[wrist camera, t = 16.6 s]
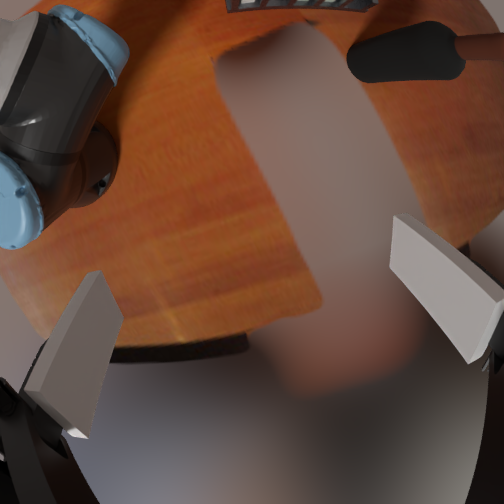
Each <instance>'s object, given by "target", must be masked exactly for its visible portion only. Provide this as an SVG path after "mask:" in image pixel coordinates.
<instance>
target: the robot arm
mask: <svg viewBox="0 0 504 504" xmlns="http://www.w3.org/2000/svg"><path fill="white" fill-rule="evenodd" d="M128 59H129V48H128V45H127V43H126V42H125V41H124V40H123V39H122V38H121V37H120V36H119V35H118V34H117V33H116V32H114V31H113V30H112V29H110V28H109V27H108V26H106V25H105V24H103V23H102V22H100V21H98V20H97V19H95V18H93V17H91V16H89V15H86V14H83V13H82V12H80V11H78V10H77V9H75V8H72V7H70V6H66V5H56V6H54V7H53V8H52V9H51V10H49V11H48V14H47V15H46V14H43V13H40V12H37V11H33V12H31V13H29V14H27V15H25V16H23V17H21V18H20V19H18V20H14V21H9V20H5V19H0V247H2V248H5V249H17V248H21V247H23V246H25V245H26V244H28V243H29V242H31V241H32V240H34V239H36V238H37V237H38V236H40V234H41V233H42V231H43V230H45V229H46V228H47V227H48V226H49V225H50V224H51V223H52V222H54V221H55V220H56V219H57V218H58V217H60V216H61V215H62V214H63V213H64V212H66V211H67V210H68V209H69V208H79V207H84V206H87V205H89V204H91V203H93V202H95V201H96V200H97V199H99V198H100V197H101V196H102V195H103V194H104V193H105V192H106V191H107V190H108V189H109V187H110V186H111V184H112V182H113V180H114V177H115V174H116V170H117V150H116V146H115V143H114V141H113V138H112V136H111V135H110V133H109V132H108V130H107V129H106V128H105V127H104V126H103V125H102V124H100V123H99V122H97V121H95V120H96V118H97V116H98V114H99V112H100V110H101V108H102V106H103V104H104V103H105V101H106V99H107V97H108V95H109V93H110V91H111V90H112V88H113V87H115V86H116V85H117V81H118V80H117V79H118V77H119V75H120V74H121V72H122V70H123V68H124V66H125V65H126V63H127V61H128ZM389 267H390V268H391V270H392V271H393V272H394V273H395V274H396V275H397V276H398V277H399V279H401V281H402V282H403V283H404V284H405V285H406V286H407V288H408V289H409V290H410V291H411V292H412V293H413V295H414V296H415V297H416V298H417V299H418V300H419V302H420V303H421V304H422V305H423V306H424V308H425V309H426V310H427V311H428V312H429V314H430V315H431V316H432V317H433V319H434V320H435V321H436V322H437V324H438V325H439V326H440V327H441V329H442V330H443V331H444V332H445V334H446V335H447V336H448V338H449V339H450V340H451V342H452V343H453V344H454V345H455V347H456V348H457V349H458V351H459V352H460V353H461V355H462V356H463V357H464V359H465V360H466V362H467V363H468V364H469V363H471V362H473V361H475V360H476V359H478V358H480V357H481V356H482V355H483V353H484V351H485V349H486V347H487V346H488V344H489V346H490V347H491V348H492V351H491V352H490V354H489V356H488V358H487V360H486V361H485V363H484V365H483V367H482V371H484V370H485V368H486V366H487V365H488V364H489V369H488V370H487V372H489V379H488V380H489V381H488V395H487V405H486V414H485V422H484V428H483V434H482V440H481V445H480V450H479V455H478V459H477V464H476V468H475V472H474V475H473V479H472V483H471V486H470V489H469V493H468V496H467V499H466V502H465V504H504V285H503V284H502V283H501V282H500V281H499V280H497V279H496V278H495V277H493V276H492V274H491V273H489V272H488V271H486V269H485V268H484V267H483V266H481V265H480V264H479V263H478V262H476V261H474V260H472V259H470V258H468V257H465V256H464V255H463V254H462V253H460V252H459V251H458V250H457V249H455V248H454V247H453V246H452V245H450V244H449V243H448V242H446V241H445V240H444V239H443V238H441V237H440V236H439V235H437V234H436V233H435V232H433V231H432V230H431V229H429V228H428V227H426V226H425V225H424V224H422V223H421V222H419V221H418V220H416V219H415V218H413V217H412V216H411V215H409V214H408V213H403V214H397V215H394V217H393V234H392V247H391V257H390V266H389ZM123 319H124V317H123V315H122V313H121V311H120V309H119V307H118V305H117V303H116V301H115V299H114V297H113V295H112V293H111V291H110V289H109V287H108V284H107V282H106V280H105V278H104V276H103V273H102V271H101V270H99V271H95V272H90V273H87V275H86V276H85V278H84V279H83V281H82V282H81V284H80V285H79V287H78V289H77V290H76V292H75V293H74V295H73V297H72V298H71V300H70V302H69V303H68V305H67V307H66V308H65V310H64V312H63V313H62V315H61V317H60V319H59V320H58V322H57V324H56V326H55V328H54V329H53V331H52V333H51V335H50V337H49V338H48V339H47V340H46V341H45V343H44V344H43V345H42V346H41V347H40V349H39V351H38V353H37V355H36V359H34V361H33V363H32V366H31V367H30V369H29V371H28V374H27V376H26V378H25V380H24V382H23V384H22V387H21V389H20V391H19V393H17V392H16V391H15V390H14V389H13V388H12V387H11V386H10V385H9V383H8V382H7V381H6V380H5V379H4V378H2V377H0V453H1V454H2V455H3V456H4V461H1V460H0V504H100V503H99V502H98V500H97V498H96V497H95V495H94V493H93V492H92V490H91V488H90V486H89V485H88V483H87V481H86V479H85V478H84V476H83V474H82V472H81V470H80V468H79V466H78V464H77V462H76V460H75V459H74V456H73V454H72V452H71V450H70V448H69V445H68V443H67V441H66V439H65V438H64V437H63V436H62V435H61V433H62V429H64V430H66V431H67V432H68V433H69V434H70V435H71V436H73V437H80V438H87V439H88V438H89V434H90V430H91V426H92V421H93V418H94V414H95V410H96V405H97V402H98V398H99V394H100V391H101V387H102V384H103V380H104V376H105V374H106V370H107V367H108V364H109V361H110V357H111V354H112V351H113V348H114V345H115V342H116V339H117V336H118V333H119V330H120V327H121V325H122V322H123Z"/></svg>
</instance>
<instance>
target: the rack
mask: <svg viewBox="0 0 504 504" xmlns="http://www.w3.org/2000/svg"><path fill="white" fill-rule="evenodd" d="M324 1H325V0H308V1H297V0H255V2H251V3H241V1H240V0H225V3H226V8H227V13H234V12H243V11H253V10H266V9H295V8H302V9H331V10H344V11H354V12H362V13H365V12H367V11H368V9H369V8H371V7H373V6H375V5H377V4H379V3H378V0H335V1H334V2H324Z"/></svg>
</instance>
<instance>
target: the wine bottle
mask: <svg viewBox="0 0 504 504" xmlns="http://www.w3.org/2000/svg"><path fill="white" fill-rule="evenodd" d="M466 60H495V61H504V33H494V34H477V35H466V36H457V35H456V34H455V33H454V32H453V31H452V30H451V29H450V28H448V27H447V26H445V25H443V24H441V23H439V22H435V21H425V22H421V23H418V24H414V25H410V26H407V27H404V28H400V29H397V30H394V31H391V32H388V33H385V34H382V35H379V36H376V37H373V38H370V39H367V40H365V41H362V42H359V43H357V44H355V45H353V46H352V47H351V48H350V49H349V50H348V53H347V64H348V68H349V69H350V71H351V73H352V74H353V75H354V76H355V77H356V78H357V79H359V80H361V81H362V82H366V83H377V82H390V81H409V80H452V79H455V78H457V77H458V76H459V75H460V74H461V72H462V71H463V69H464V68H465V64H466Z"/></svg>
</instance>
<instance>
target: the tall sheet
mask: <svg viewBox="0 0 504 504" xmlns="http://www.w3.org/2000/svg"><path fill="white" fill-rule="evenodd" d="M240 1H241V3H251V2H255V0H240Z"/></svg>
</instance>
